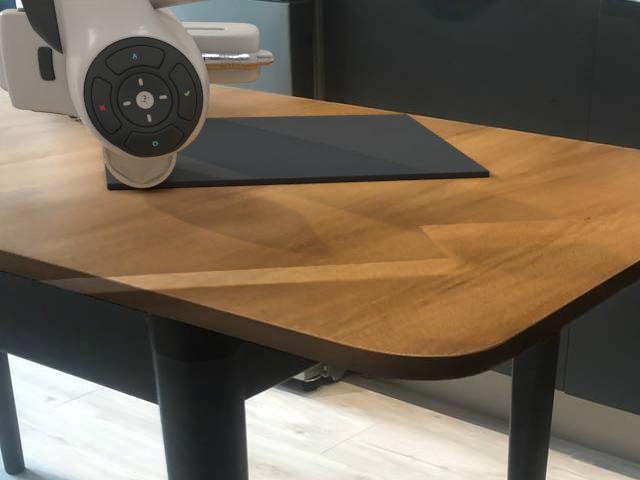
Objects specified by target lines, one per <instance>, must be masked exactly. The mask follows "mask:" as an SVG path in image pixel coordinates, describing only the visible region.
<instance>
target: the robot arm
mask: <svg viewBox="0 0 640 480" xmlns="http://www.w3.org/2000/svg"><path fill="white" fill-rule="evenodd" d="M208 1H210V0H20V2H21V5H22V7H18V8H6V9H3V10H1V11H0V88H1V90H4V91H5V92H7V93H8V96H9V100H10V103H11V106H12V107H13V108H14V109H16V110H20V111H21V110H22V111H31V112H35V113H44V114H54V115H62V116H68V115H71V116H75V117H79V118H78V119H80V120H81V122H82V124H83V126H84V127H85V128H86V129H87V131H88V132H89V134H91V135H92V137H93V138H94V139H95V140H96V141H97V142H98V143H100V145H101V146H102V145H103V146H105V147H106V148H107V149H109V150H110V151H112V152H114V153H116V154H119V155H121V156H124V157H128V158H132V159H138V160H158V159H162V158H166V157H169V156H171V155H173V154H175V153H177V152H179V151H180V150H182V149H184V148H185V147H186V146H188V145H189V144H190V143H191V142H192V141H193V140H194V139H195V138H196V137H197V135H198V134H199V132H200V131H201V129H202V127H203V125H204V122H205V120H206V118H208V112H209V109H210V102H211V101H210V99H211V86H210V85H211V84H212V85H213V84H215V85H219V84H220V85H222V84H223V85H230V84H231V85H233V84H234V85H235V84H248V83H254V82H256V81H258V80H259V79H260V77H261V75H262V74H261V73H262V71H261V70H262V67H272V66H274V62H275V57H274V54H273V53H272V52H271V51H269V50H266V49H261V34H260V30H259V28H258V27H257V26H256V25H255V24H252V23H246V22H221V21H220V22H217V21H215V22H213V21H211V22H210V21H209V22H207V21H180V19H179V18H178V17H177V16H176V14H175V13H174V12H173V11H172V10H171V9H170V8H172V7H176V6H183V5H189V4H195V3H196V4H197V3H202V2H208Z"/></svg>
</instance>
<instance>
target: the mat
mask: <svg viewBox="0 0 640 480" xmlns="http://www.w3.org/2000/svg"><path fill="white" fill-rule="evenodd" d="M103 161H104V160H103ZM104 171H105V172H104V173H105V180H106V188H107V190H111V191H112V190H135V189H136V190H138V189H139V190H140V189H142V188H137V187H132V186H129V185H126V184H124V183H122V182H121V181H119V180H118V179H117V178H116V177H115V176H113V174H112V173H111V172H110V171H109V169H108V168H107V166H106V164H105V161H104ZM490 173H491V172H490V170H489V169H487V168H486V167H484V166H483V165H481V164H480V163H478V162H477V161H475V160H474V159H473V158H471V156H469V155H467V154H465V153H464V152H462V151H461V150H460V149H458V148H457V147H455V146H454V145H452V144H451V143H449V142H448V141H446V140H445V139H444V138H443V137H441V136H440V135H438V134H436V133H435V132H434V131H432V130H431V129H429V128H428V127H426V126H425V125H423V124H422V123H421V122H419V121H417V120H416V119H415V118H414V117H412V116H410V115H409V114H407V113H390V114H388V113H385V114H384V113H383V114H334V115H327V114H326V115H279V116H277V115H276V116H275V115H274V116H232V117H231V116H230V117H229V116H227V117H224V116H223V117H222V116H221V117H206V120H205V122H204V125H203V127H202V129H201V131H200V132H199V134H198V135H197V137H196V138H195V139H194V140H193V141H192V142H191V143H190V144H189V145H188V146H186V147H185V148H184V149H182V150H180V151H179V152H177V156H176V162H175V165H174V168H173V170H172V172H171V173H170V175H169V176H168V177H167V178H166V179H165V180H164V181H162V182H161V183H159V184H157V185H155V186H152V187H147V188H146V189H165V188H169V189H170V188H194V187H195V188H197V187H198V188H199V187H221V186H222V187H225V186H253V185H284V184H285V185H286V184H287V185H288V184H310V183H311V184H316V183H342V182H343V183H344V182H345V183H346V182H371V181H373V182H374V181H375V182H376V181H399V180H400V181H403V180H404V181H405V180H432V179H461V178H462V179H463V178H489V177H490Z"/></svg>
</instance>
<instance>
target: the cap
mask: <svg viewBox="0 0 640 480" xmlns="http://www.w3.org/2000/svg"><path fill="white" fill-rule="evenodd" d="M101 154H102V158H103V161H105V162H104V165H105V164H106V166H107V168H108V169H109V171H110V172H111V173H112V174H113V176H115V177H116V178H117V179H118V180H119V181H121V182H122V183H124V184H126V185H129V186H132V187H137V188H141V189H148V188H147V187H152V186H155V185H157V184H159V183H161V182H162V181H164V180H165V179H166V178H167V177H168V176H169V175H170V173H171V172H172V170H173V168H174V165H175V162H176V156H177V153H175V154H173V155H171V156H169V157H166V158H162V159H158V160H138V159H132V158H128V157H124V156H121V155H119V154H116V153H114V152H112V151H110V150H109V149H107V148H106V147H105V146H103V145H102V144H101Z"/></svg>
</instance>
